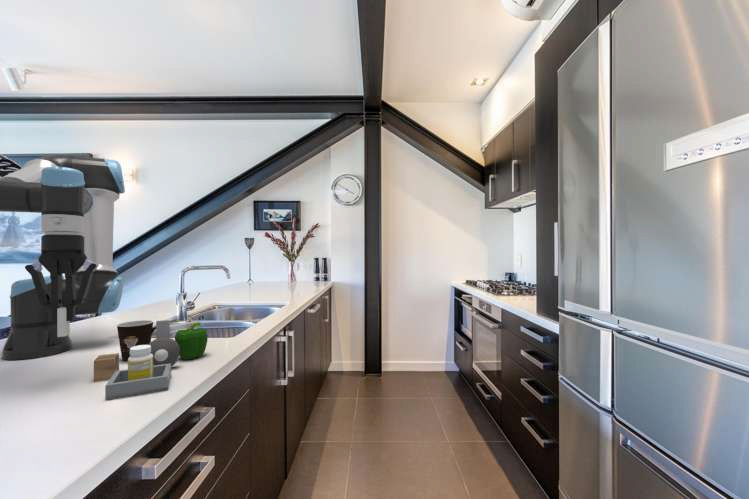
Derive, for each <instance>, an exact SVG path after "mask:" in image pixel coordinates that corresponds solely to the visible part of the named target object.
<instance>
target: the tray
mask: <svg viewBox="0 0 749 499" xmlns="http://www.w3.org/2000/svg"><path fill="white" fill-rule="evenodd" d="M171 378H172V367H171V363H170V364H163V365H155V366H153V377H151V378H144V379H137V380H130V381H128V368H127V369H126V368H125V369H119V370H118V371H116V372H115V373H114V374H113V376H112V377H111V379H110V380H107V383H106V384H105V385H104V386H105V388H104V389H105V393H104V394H105V396H104V397H105V401H109V400H114V399H116V400H117V399H121V398H127V397H133V396H134V397H135V396H140V395H145V394H152V393H157V392H158V393H160V392H165V391H168V389H169V387H170V382H171Z"/></svg>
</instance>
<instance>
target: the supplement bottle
mask: <svg viewBox="0 0 749 499" xmlns="http://www.w3.org/2000/svg"><path fill="white" fill-rule="evenodd" d="M150 352H151V345H138V346H134V347H131V348H130V355H131V356H130V357H129V358H128V362H127V369H128V381H130V380H137V379H144V378H151V377H153V354H151V353H150Z"/></svg>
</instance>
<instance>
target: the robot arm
mask: <svg viewBox="0 0 749 499" xmlns="http://www.w3.org/2000/svg"><path fill="white" fill-rule="evenodd" d="M121 166H122V165H121V163H120V162H119V161H118V160H115V159H108V158H105V157H103V158H99V157H98V158H97V157H91V156H79V155H70V154H54V155H53V154H52V155H47V156H46V155H45V156H41V157H37V158H34V159H31V160H29V161H27V162H25V163H24V164H23V166H22V168H20V169H18V170H15V171H13V172H10V173H9V174H6V175H4V176H2V177H0V212H3V213H4V212H5V213H6V212H8V213H9V212H11V213H35V214H36V213H37V214H40V215H41V217H40V221H41V223H40V224H41V228H40V229H41V232H42V233H44V234H42V236H40V240H41V241H40V251H41V253H40V255H39V257H38V260H37V261H35V262H33V263H30V264H26V265H25V266H24V269H25V271H27V272H28V273H29V275H30V276H31V278H27V279H20V280H16V281H14V282H13V283H12V284H11V286H10V295H9V298H10V331H9V334H8V336H7V338H6V341H5V344H4V346H3V348H2V353H1V354H2V356H1V359H2V360H8V361H15V360H16V361H17V360H28V359H29V360H30V359H36V358H37V359H38V358H43V357H47V356H52V355H56V354H60V353H63V352H66V351H69V350H71V349H72V339H71V337H70V335H71V322H72V321H75V318H76V316H80V315H84V316H85V315H95V314H98V315H100V314H104V313H113V312H115V311H117V310H118V308H119V306H120V303H121V299H122V295H123V289H124V278H123V277H122V276H119V272H118V271H117V270H116V269H115V268H114V267H113V262H114V261H113V260H114V259H113V258H114V257H113V256H114V221H115V220H114V218H115V217H114V215H115V214H114V213H115V202H116V201H118V200H119V199H120V196H121V194H124V193H125V191H126V190H125V181H124V176H123V170H122V167H121ZM43 268H45V269H46V271H48V273H49V275H47V276H44V273H42V270H43ZM63 274H64V275H63Z"/></svg>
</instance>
